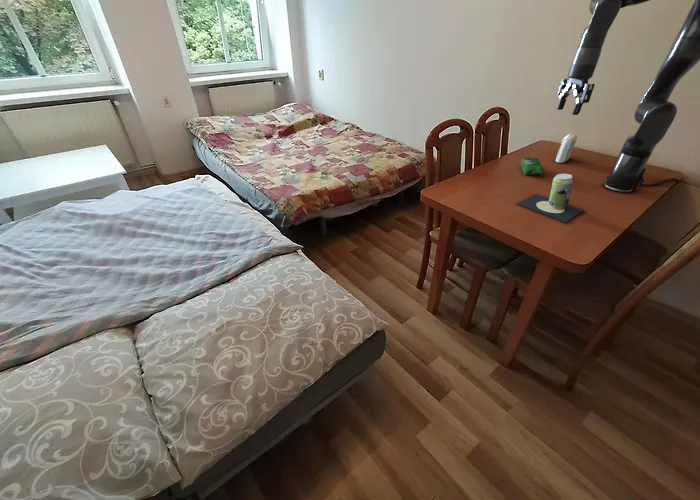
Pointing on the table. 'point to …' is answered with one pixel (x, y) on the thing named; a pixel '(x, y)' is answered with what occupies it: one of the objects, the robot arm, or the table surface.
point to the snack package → (531, 166)
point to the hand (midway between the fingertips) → (567, 111)
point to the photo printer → (566, 148)
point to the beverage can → (561, 191)
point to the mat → (550, 208)
